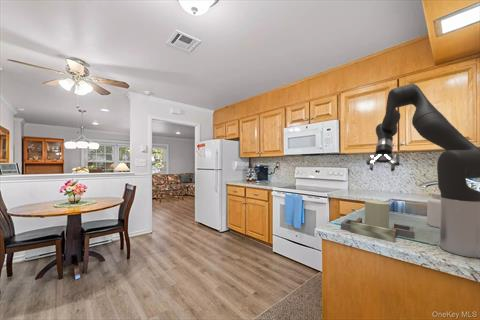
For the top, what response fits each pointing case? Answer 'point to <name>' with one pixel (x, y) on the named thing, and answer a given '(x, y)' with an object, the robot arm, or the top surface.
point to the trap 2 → (405, 231)
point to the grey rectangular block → (377, 213)
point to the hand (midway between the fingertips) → (381, 170)
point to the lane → (373, 230)
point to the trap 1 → (346, 224)
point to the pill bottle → (434, 210)
